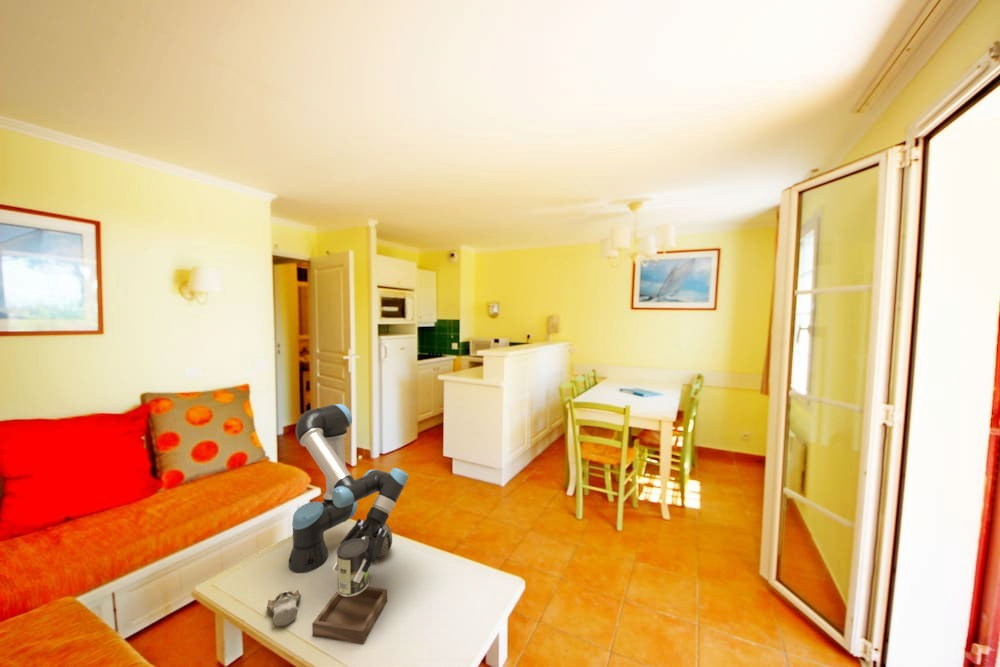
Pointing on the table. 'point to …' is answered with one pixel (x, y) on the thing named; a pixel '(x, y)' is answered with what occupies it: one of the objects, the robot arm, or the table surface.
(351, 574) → the coffee can
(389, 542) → the decorative egg
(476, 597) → the table surface
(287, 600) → the ceramic sculpture
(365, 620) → the box
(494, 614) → the table surface
